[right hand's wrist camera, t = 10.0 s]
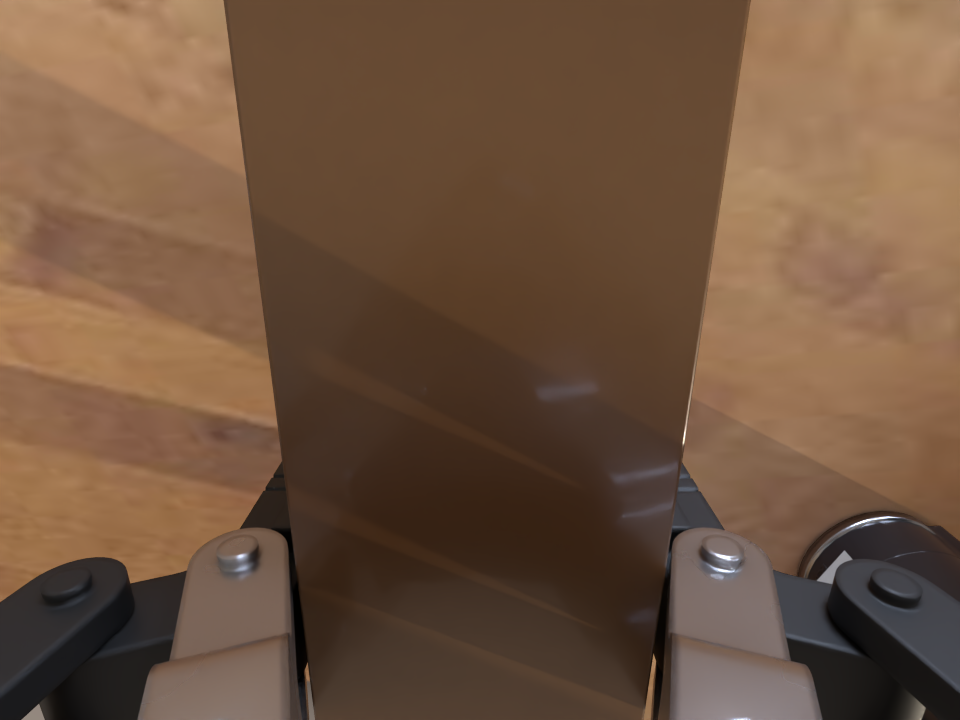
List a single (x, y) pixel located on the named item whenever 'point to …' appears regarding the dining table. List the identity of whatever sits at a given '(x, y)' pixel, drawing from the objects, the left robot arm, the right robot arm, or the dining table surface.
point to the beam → (483, 332)
